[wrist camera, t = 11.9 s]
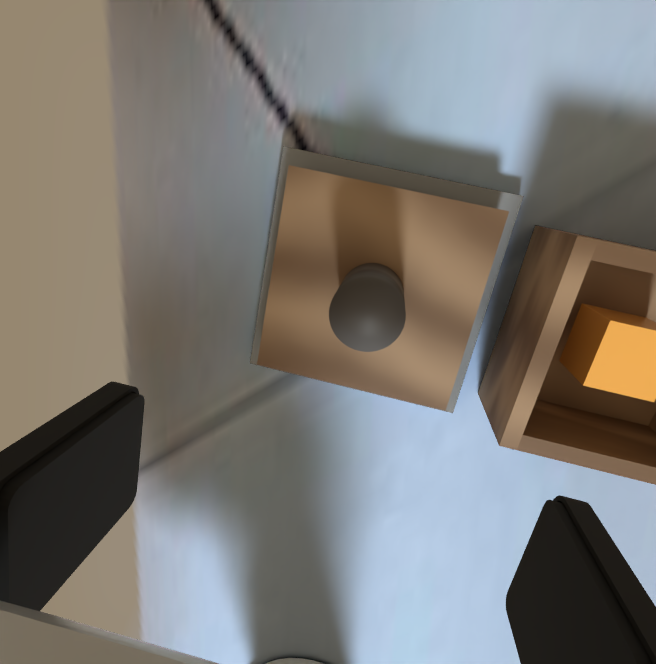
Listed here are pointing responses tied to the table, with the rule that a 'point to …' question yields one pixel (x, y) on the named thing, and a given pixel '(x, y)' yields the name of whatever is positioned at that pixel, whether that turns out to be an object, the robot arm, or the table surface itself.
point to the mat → (403, 182)
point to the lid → (376, 285)
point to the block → (613, 352)
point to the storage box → (546, 349)
